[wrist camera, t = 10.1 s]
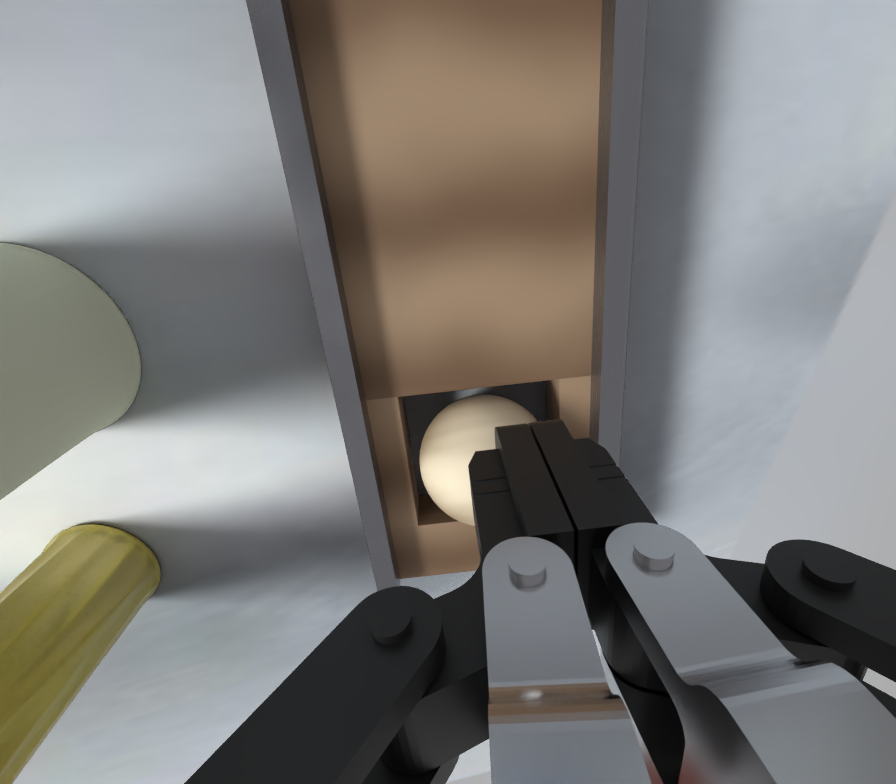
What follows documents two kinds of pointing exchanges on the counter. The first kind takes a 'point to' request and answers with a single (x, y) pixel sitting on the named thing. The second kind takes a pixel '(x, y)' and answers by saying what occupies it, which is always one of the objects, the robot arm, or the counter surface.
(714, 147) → the counter surface
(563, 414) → the runway
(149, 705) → the counter surface
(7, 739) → the vase
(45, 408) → the can
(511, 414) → the ball
